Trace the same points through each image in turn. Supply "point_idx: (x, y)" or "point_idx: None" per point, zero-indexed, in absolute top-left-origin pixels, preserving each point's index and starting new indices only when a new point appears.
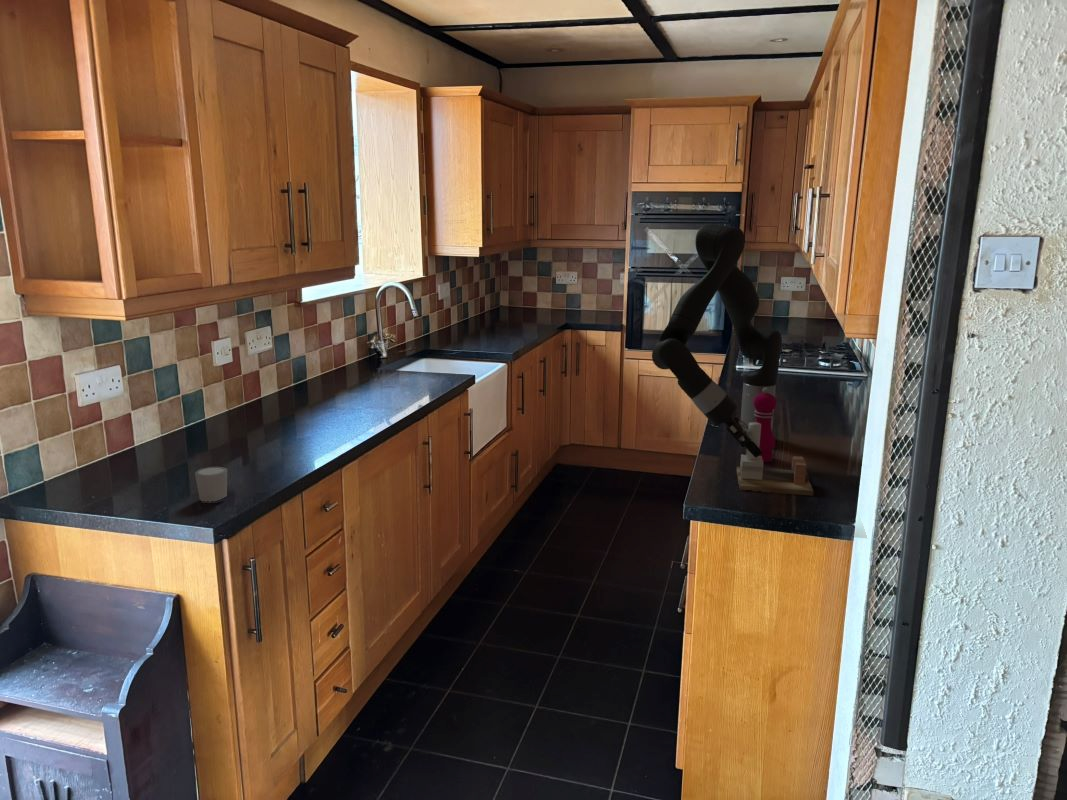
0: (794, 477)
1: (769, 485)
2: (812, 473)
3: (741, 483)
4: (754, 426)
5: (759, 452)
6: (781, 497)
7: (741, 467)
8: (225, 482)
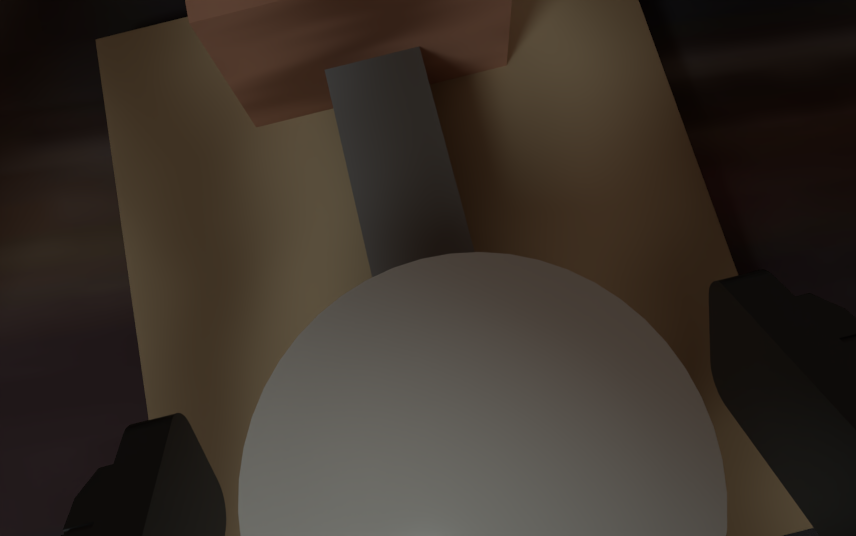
0: (475, 44)
1: (664, 252)
2: (24, 17)
3: (757, 521)
4: (701, 458)
5: (811, 304)
6: (782, 143)
7: None
8: None
